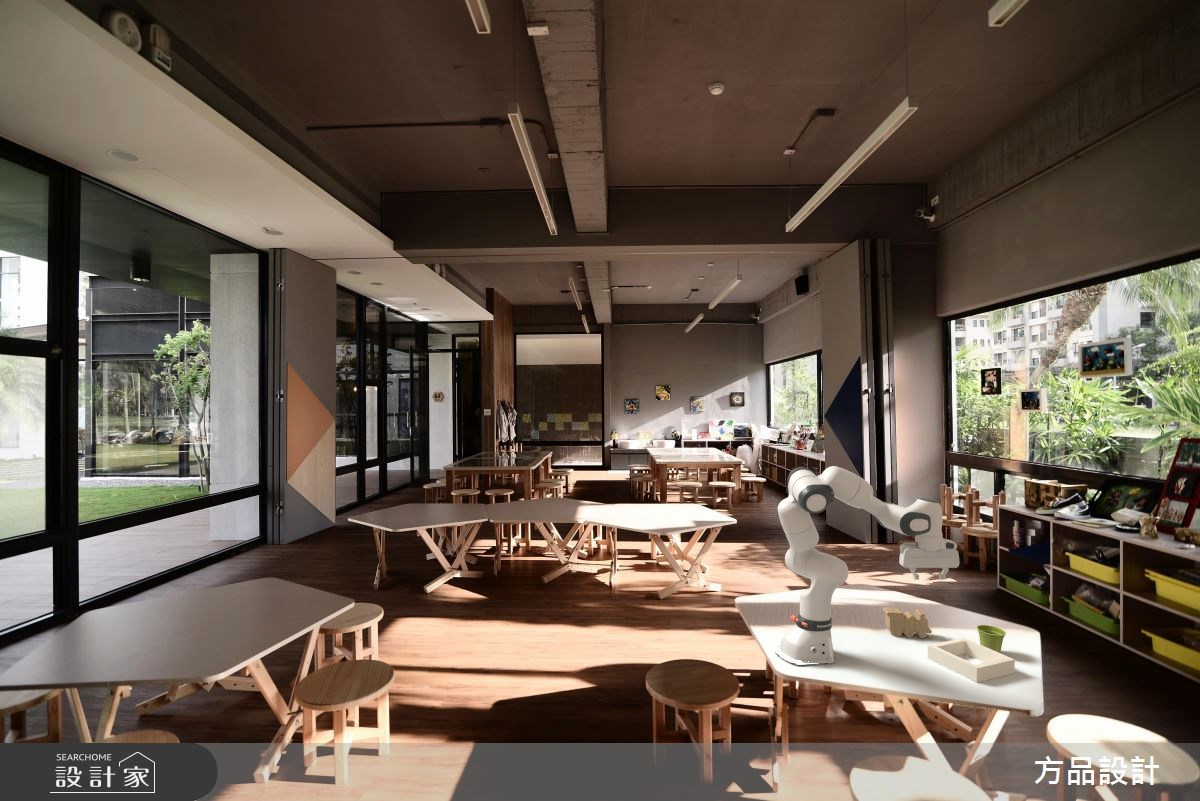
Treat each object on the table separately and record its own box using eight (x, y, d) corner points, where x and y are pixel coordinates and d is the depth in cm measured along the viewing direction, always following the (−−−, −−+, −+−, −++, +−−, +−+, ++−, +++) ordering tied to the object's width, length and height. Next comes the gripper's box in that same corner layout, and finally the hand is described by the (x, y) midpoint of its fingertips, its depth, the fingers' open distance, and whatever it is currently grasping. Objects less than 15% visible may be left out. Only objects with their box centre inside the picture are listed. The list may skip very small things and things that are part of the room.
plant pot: (1004, 650, 221) (1004, 628, 221) (1007, 660, 213) (1007, 637, 213) (975, 644, 226) (975, 623, 226) (976, 654, 218) (977, 631, 218)
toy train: (931, 639, 231) (932, 614, 231) (886, 636, 234) (887, 612, 233) (926, 633, 236) (926, 609, 236) (882, 630, 239) (882, 606, 239)
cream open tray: (976, 682, 196) (976, 668, 196) (927, 658, 214) (927, 645, 214) (1014, 673, 203) (1014, 659, 203) (963, 650, 221) (964, 637, 221)
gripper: (904, 544, 209) (904, 582, 210) (961, 544, 208) (961, 581, 208) (896, 540, 215) (896, 576, 216) (951, 539, 214) (952, 576, 215)
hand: (928, 579), depth 212 cm, fingers open, 8 cm apart
